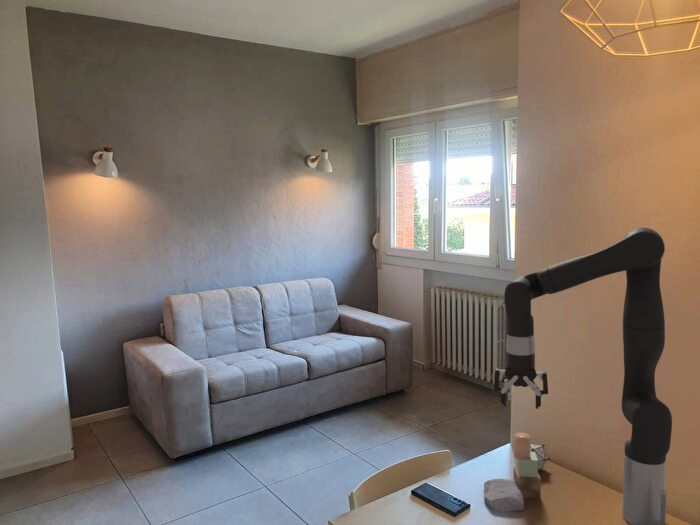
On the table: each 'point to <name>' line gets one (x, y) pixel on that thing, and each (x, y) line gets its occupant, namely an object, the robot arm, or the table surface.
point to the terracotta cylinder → (522, 446)
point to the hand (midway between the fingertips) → (520, 406)
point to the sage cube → (528, 466)
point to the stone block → (503, 495)
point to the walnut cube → (528, 485)
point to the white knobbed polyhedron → (540, 455)
